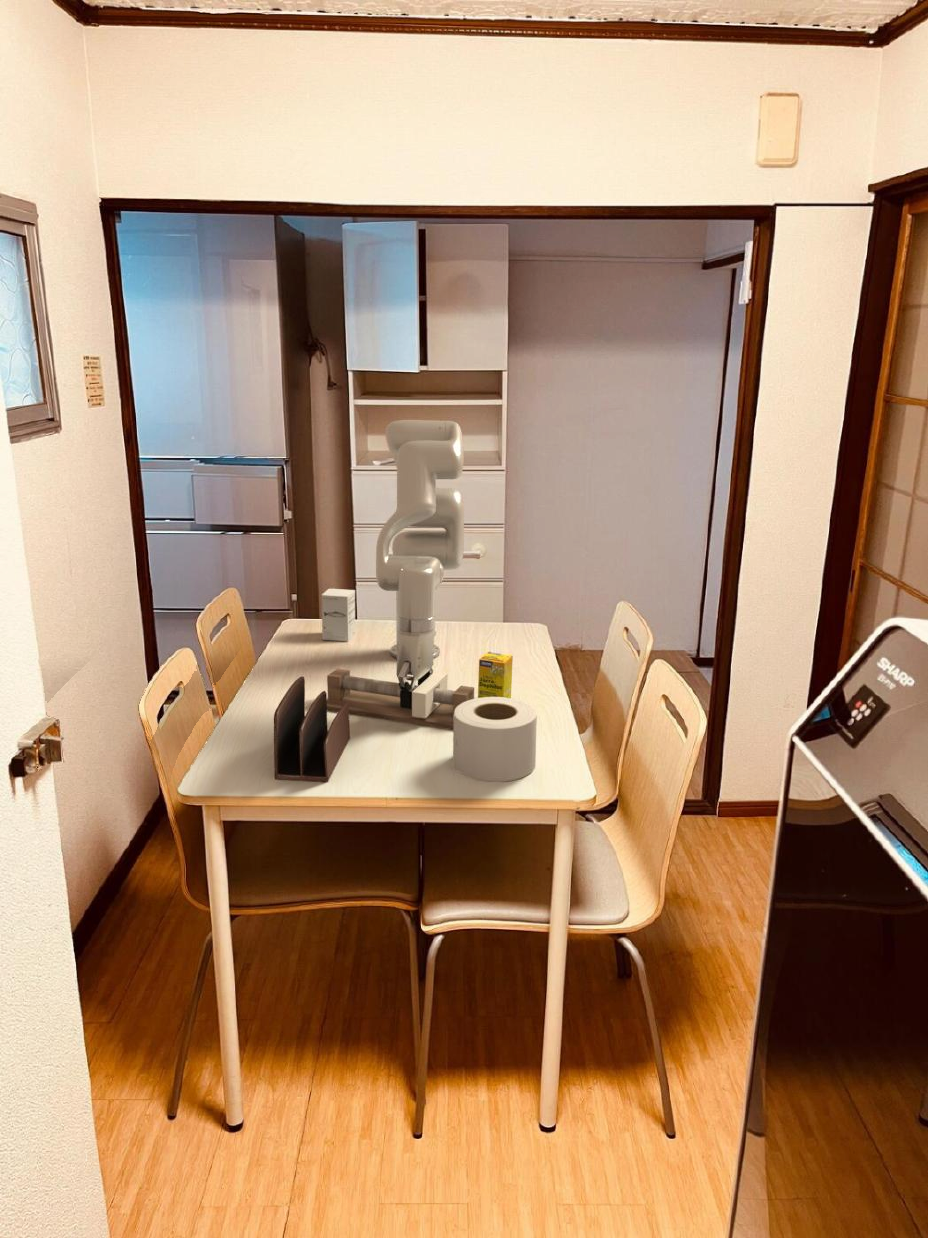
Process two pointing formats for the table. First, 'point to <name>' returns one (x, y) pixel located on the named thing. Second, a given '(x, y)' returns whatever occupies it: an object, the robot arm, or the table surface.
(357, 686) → the pipe stand
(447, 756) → the table surface
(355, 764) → the table surface
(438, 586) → the robot arm
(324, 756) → the letter holder
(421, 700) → the collar
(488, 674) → the supplement box
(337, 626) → the supplement box
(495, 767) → the white paper roll
